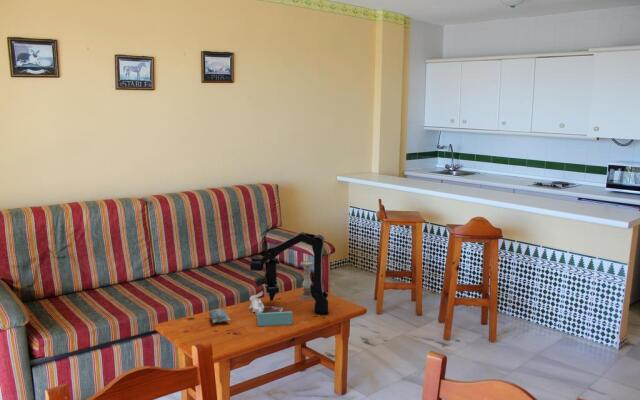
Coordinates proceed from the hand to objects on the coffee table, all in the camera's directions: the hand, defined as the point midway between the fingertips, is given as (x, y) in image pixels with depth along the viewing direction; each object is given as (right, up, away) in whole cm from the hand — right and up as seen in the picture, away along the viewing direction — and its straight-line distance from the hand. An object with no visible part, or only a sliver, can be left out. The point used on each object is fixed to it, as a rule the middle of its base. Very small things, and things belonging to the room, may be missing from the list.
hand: (271, 300), depth 285 cm
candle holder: (+18, -2, +18) cm, 26 cm away
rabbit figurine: (-6, -5, -2) cm, 8 cm away
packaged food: (-21, -9, -19) cm, 30 cm away
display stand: (+3, -7, -17) cm, 18 cm away
